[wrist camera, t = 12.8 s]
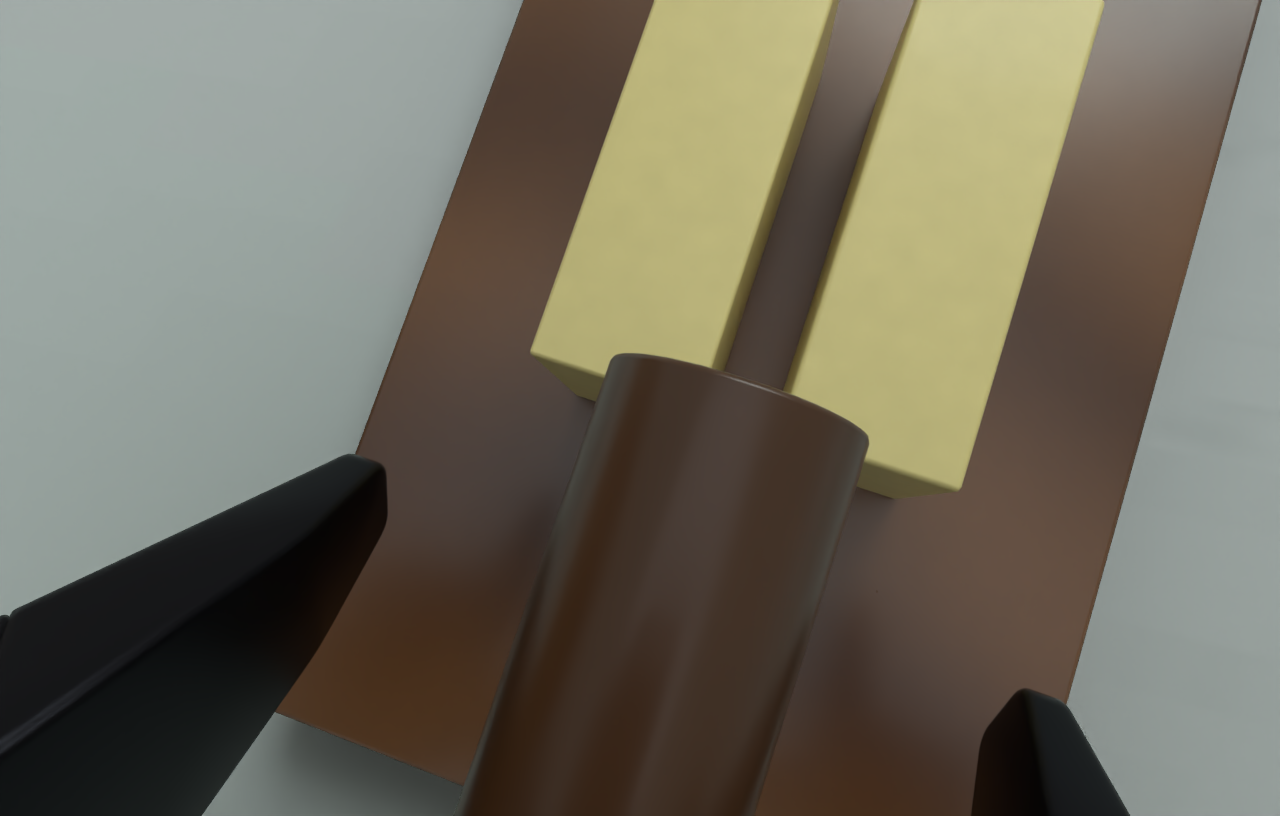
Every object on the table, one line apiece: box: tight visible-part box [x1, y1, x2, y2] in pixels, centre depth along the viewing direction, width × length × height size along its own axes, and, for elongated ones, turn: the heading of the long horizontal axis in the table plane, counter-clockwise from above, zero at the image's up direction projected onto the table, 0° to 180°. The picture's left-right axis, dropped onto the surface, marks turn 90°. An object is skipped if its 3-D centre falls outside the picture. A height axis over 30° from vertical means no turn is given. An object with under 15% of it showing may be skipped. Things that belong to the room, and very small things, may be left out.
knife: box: [453, 353, 869, 816], centre depth 9 cm, size 6×2×8 cm, turn 161°
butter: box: [530, 0, 1104, 499], centre depth 12 cm, size 6×6×4 cm
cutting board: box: [275, 0, 1262, 816], centre depth 15 cm, size 20×12×2 cm, turn 161°
